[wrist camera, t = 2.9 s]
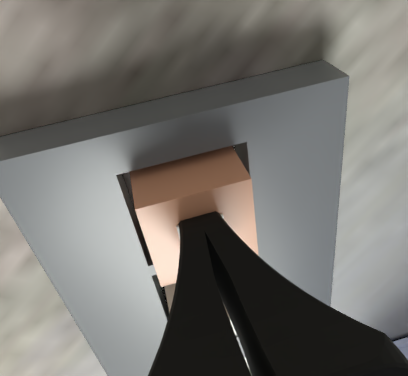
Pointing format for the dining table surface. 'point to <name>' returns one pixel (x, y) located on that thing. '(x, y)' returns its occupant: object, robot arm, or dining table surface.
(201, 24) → the dining table surface
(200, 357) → the robot arm
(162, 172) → the key peach
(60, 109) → the dining table surface
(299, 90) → the keypad
